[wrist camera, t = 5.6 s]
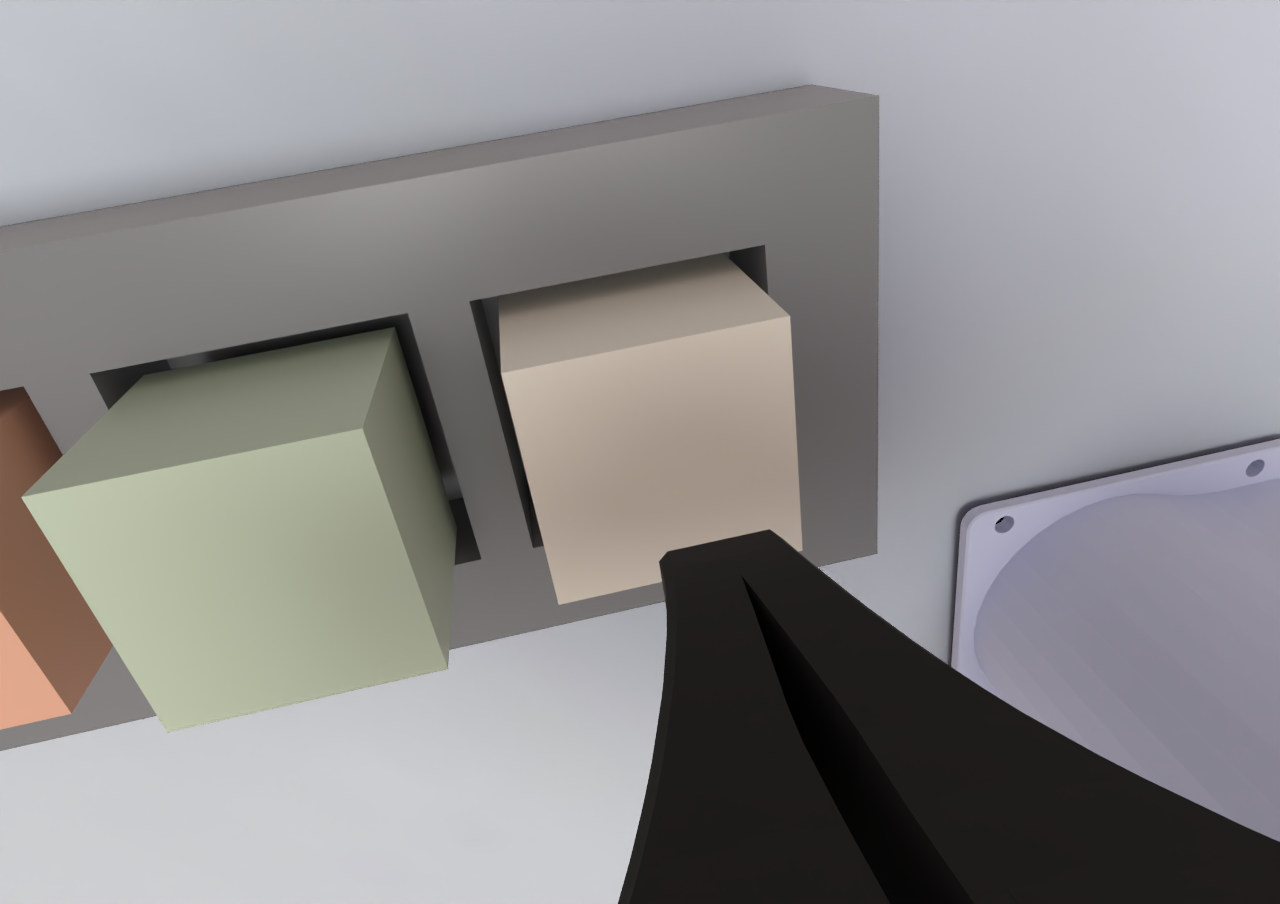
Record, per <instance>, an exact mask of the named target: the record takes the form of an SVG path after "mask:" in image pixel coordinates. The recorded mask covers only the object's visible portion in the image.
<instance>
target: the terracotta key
mask: <svg viewBox="0 0 1280 904" xmlns="http://www.w3.org/2000/svg"><path fill="white" fill-rule="evenodd" d="M62 456H63V454H62V453H61V451H60V449H59V447H58V446H57V444H56V442H55V440H54V439H53V437H52V435H51V433H50V432H49V430H48V428H47V426H46V425H45V423H44V421H43V419H42V418H41V416H40V414H39V412H38V411H37V409H36V407H35V406H34V404H33V402H32V400H31V399H30V397H29V395H28V393H27V392H26V390H25V388H24V386H22V387H17V388H12V389H7V390H1V391H0V730H1V729H5V728H10V727H14V726H19V725H23V724H28V723H32V722H37V721H41V720H46V719H50V718H55V717H59V716H64V715H68V714H72V712H73V711H74V709H75V707H76V706H77V704H78V702H79V701H80V699H81V698H82V696H83V694H84V693H85V691H86V689H87V688H88V686H89V684H90V683H91V681H92V680H93V678H94V676H95V675H96V673H97V671H98V670H99V668H100V667H101V665H102V663H103V662H104V660H105V658H106V657H107V655H108V653H109V652H110V650H111V649H112V647H113V644H112V643H111V641H110V639H109V638H108V636H107V634H106V633H105V631H104V630H103V628H102V626H101V625H100V623H99V622H98V620H97V618H96V617H95V615H94V614H93V612H92V610H91V609H90V607H89V606H88V604H87V602H86V601H85V599H84V598H83V596H82V594H81V593H80V591H79V590H78V588H77V586H76V585H75V583H74V582H73V580H72V578H71V577H70V575H69V573H68V572H67V570H66V569H65V567H64V565H63V564H62V562H61V561H60V559H59V557H58V556H57V554H56V553H55V551H54V549H53V548H52V546H51V545H50V543H49V541H48V540H47V538H46V537H45V535H44V533H43V532H42V530H41V529H40V527H39V525H38V524H37V522H36V520H35V519H34V517H33V516H32V514H31V512H30V511H29V509H28V508H27V506H26V504H25V503H24V501H23V500H22V498H21V497H22V496H23V495H24V494H25V493H26V492H27V491H28V490H29V489H30V488H31V487H32V486H33V485H34V484H35V483H36V482H37V481H38V480H39V479H40V478H41V477H42V476H43V475H44V474H45V473H46V472H47V471H48V470H49V469H50V468H51V467H52V466H53V465H54V464H55V463H56V462H57V461H58V460H59V459H60V458H61V457H62Z"/></svg>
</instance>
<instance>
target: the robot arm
mask: <svg viewBox="0 0 1280 904" xmlns="http://www.w3.org/2000/svg"><path fill="white" fill-rule="evenodd" d="M1004 516H1005V517H1004ZM1002 517H1004V519H1003V520H1002V521H1001V522H1000V523H998V524H996V522H997V521H998V520H999V519H1000V518H1002ZM659 566H660V572H661V578H662V584H663V590H664V596H665V602H666V608H667V640H666V654H665V668H664V682H663V692H662V700H661V706H660V713H659V719H658V726H657V733H656V739H655V746H654V752H653V759H652V764H651V769H650V774H649V779H648V784H647V790H646V794H645V799H644V804H643V808H642V813H641V817H640V821H639V825H638V830H637V834H636V838H635V842H634V846H633V851H632V855H631V858H630V862H629V866H628V870H627V873H626V877H625V880H624V884H623V887H622V891H621V895H620V898H619V902H618V904H1280V439H1276V440H1272V441H1267V442H1263V443H1258V444H1254V445H1249V446H1245V447H1240V448H1236V449H1231V450H1227V451H1222V452H1218V453H1213V454H1209V455H1204V456H1200V457H1195V458H1191V459H1186V460H1182V461H1177V462H1173V463H1168V464H1164V465H1159V466H1155V467H1150V468H1146V469H1141V470H1137V471H1132V472H1128V473H1123V474H1119V475H1115V476H1110V477H1106V478H1101V479H1097V480H1092V481H1088V482H1083V483H1079V484H1074V485H1070V486H1065V487H1061V488H1056V489H1052V490H1047V491H1043V492H1038V493H1034V494H1029V495H1025V496H1020V497H1016V498H1011V499H1007V500H1002V501H998V502H993V503H989V504H984V505H980V506H977V507H975V508H973V509H971V510H970V511H969V512H967V513H966V515H965V516H964V518H963V519H962V522H961V526H960V541H959V556H958V572H957V587H956V602H955V617H954V632H953V647H952V663H951V666H949V665H948V664H946V663H944V662H943V661H941V660H940V659H939V658H937V657H936V656H934V655H933V654H931V653H930V652H928V651H927V650H926V649H924V648H923V647H921V646H920V645H918V644H917V643H916V642H914V641H913V640H911V639H910V638H909V637H907V636H906V635H905V634H903V633H902V632H900V631H899V630H898V629H896V628H895V627H894V626H892V625H891V624H890V623H888V622H887V621H885V620H884V619H883V618H881V617H880V616H879V615H877V614H876V613H875V612H873V611H872V610H870V609H869V608H868V607H866V606H865V605H864V604H863V603H861V602H860V601H859V600H857V599H856V598H855V597H854V596H852V595H851V594H850V593H848V592H847V591H846V590H845V589H843V588H842V587H841V586H840V585H838V584H837V583H836V582H835V581H833V580H832V579H831V578H830V577H828V576H827V575H826V574H825V573H823V572H822V571H821V570H820V569H818V568H817V567H816V566H815V565H814V564H812V563H811V562H810V561H809V560H808V559H806V558H805V557H804V556H803V555H802V554H800V553H799V552H798V551H797V550H796V549H794V548H793V547H792V546H791V545H790V544H788V543H787V542H786V541H785V540H784V539H783V538H781V537H780V536H779V535H777V534H776V533H774V532H773V531H772V530H770V529H768V530H763V531H759V532H754V533H750V534H745V535H740V536H736V537H731V538H727V539H722V540H718V541H713V542H708V543H704V544H699V545H695V546H690V547H685V548H681V549H676V550H672V551H667V552H666V554H665V555H664V556H663V557H662V558H661V560H660V561H659Z"/></svg>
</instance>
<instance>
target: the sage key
mask: <svg viewBox="0 0 1280 904" xmlns="http://www.w3.org/2000/svg"><path fill="white" fill-rule="evenodd" d="M21 498H22V500H23V501H24V503H25V504H26V506H27V508H28V509H29V511H30V512H31V514H32V516H33V517H34V519H35V520H36V522H37V524H38V525H39V527H40V529H41V530H42V532H43V533H44V535H45V537H46V538H47V540H48V541H49V543H50V545H51V546H52V548H53V549H54V551H55V553H56V554H57V556H58V557H59V559H60V561H61V562H62V564H63V565H64V567H65V569H66V570H67V572H68V573H69V575H70V577H71V578H72V580H73V582H74V583H75V585H76V586H77V588H78V590H79V591H80V593H81V594H82V596H83V598H84V599H85V601H86V602H87V604H88V606H89V607H90V609H91V610H92V612H93V614H94V615H95V617H96V618H97V620H98V622H99V623H100V625H101V626H102V628H103V630H104V631H105V633H106V634H107V636H108V638H109V639H110V641H111V643H112V644H113V646H114V647H115V649H116V651H117V652H118V654H119V655H120V657H121V659H122V660H123V662H124V663H125V665H126V667H127V668H128V670H129V671H130V673H131V675H132V676H133V678H134V679H135V681H136V683H137V684H138V686H139V687H140V689H141V691H142V692H143V694H144V696H145V697H146V699H147V700H148V702H149V704H150V705H151V707H152V708H153V710H154V712H155V713H156V715H157V716H158V718H159V720H160V721H161V723H162V724H163V726H164V728H165V729H166V731H167V732H172V731H177V730H181V729H186V728H190V727H194V726H199V725H203V724H208V723H212V722H216V721H221V720H225V719H230V718H234V717H238V716H243V715H247V714H252V713H256V712H260V711H265V710H269V709H274V708H278V707H283V706H287V705H291V704H296V703H300V702H305V701H309V700H313V699H318V698H322V697H327V696H331V695H335V694H340V693H344V692H349V691H353V690H357V689H362V688H366V687H371V686H375V685H379V684H384V683H388V682H393V681H397V680H401V679H406V678H410V677H415V676H419V675H424V674H428V673H432V672H437V671H441V670H446V669H448V658H449V643H450V627H451V612H452V596H453V580H454V565H455V549H456V534H457V526H456V522H455V519H454V516H453V513H452V510H451V506H450V503H449V500H448V497H447V493H446V490H445V487H444V484H443V481H442V477H441V474H440V471H439V468H438V464H437V461H436V458H435V455H434V452H433V448H432V445H431V442H430V439H429V435H428V432H427V429H426V426H425V423H424V419H423V416H422V413H421V410H420V406H419V403H418V400H417V397H416V394H415V390H414V387H413V384H412V381H411V378H410V374H409V371H408V368H407V365H406V361H405V358H404V355H403V352H402V349H401V345H400V342H399V339H398V336H397V332H396V329H395V327H392V328H386V329H381V330H376V331H371V332H366V333H360V334H355V335H350V336H345V337H340V338H334V339H329V340H324V341H319V342H314V343H308V344H303V345H298V346H293V347H287V348H282V349H277V350H272V351H267V352H261V353H256V354H251V355H246V356H241V357H235V358H230V359H225V360H220V361H215V362H209V363H204V364H199V365H194V366H189V367H183V368H178V369H173V370H168V371H162V372H157V373H152V374H147V375H143V376H142V377H141V378H140V379H139V380H138V381H137V382H136V383H135V384H134V385H133V386H132V387H131V388H130V389H129V390H128V391H127V392H126V393H125V394H124V395H123V396H122V397H121V398H120V399H119V400H118V401H117V402H116V403H115V404H114V405H113V406H112V407H111V408H110V409H109V410H108V411H107V412H106V413H105V414H104V415H103V416H102V417H101V418H100V419H99V420H98V421H97V422H96V423H95V424H94V425H93V426H92V427H91V428H90V429H89V430H88V431H87V432H86V433H85V434H84V435H83V436H82V437H81V438H80V439H79V440H78V441H77V442H76V443H75V444H74V445H73V446H72V447H71V448H70V449H69V450H68V451H67V452H66V453H65V454H64V455H63V456H62V457H61V458H60V459H59V460H58V461H57V462H56V463H55V464H54V465H53V466H52V467H51V468H50V469H49V470H48V471H47V472H46V473H45V474H44V475H43V476H42V477H41V478H40V479H39V480H38V481H37V482H36V483H35V484H34V485H33V486H32V487H31V488H30V489H29V490H28V491H27V492H26V493H25V494H24V495H23V496H22V497H21Z"/></svg>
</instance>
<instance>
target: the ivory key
mask: <svg viewBox="0 0 1280 904" xmlns="http://www.w3.org/2000/svg"><path fill="white" fill-rule="evenodd" d="M498 304H499V332H500V359H501V375H502V379H503V383H504V387H505V391H506V395H507V399H508V403H509V407H510V411H511V415H512V419H513V424H514V428H515V432H516V436H517V440H518V444H519V448H520V452H521V456H522V460H523V464H524V468H525V472H526V476H527V480H528V484H529V488H530V492H531V496H532V500H533V504H534V508H535V512H536V516H537V520H538V524H539V528H540V532H541V536H542V540H543V544H544V548H545V552H546V556H547V560H548V564H549V568H550V572H551V576H552V580H553V584H554V588H555V592H556V596H557V600H558V604H559V605H561V604H565V603H570V602H574V601H579V600H583V599H588V598H592V597H597V596H601V595H606V594H610V593H615V592H619V591H623V590H628V589H632V588H637V587H641V586H646V585H650V584H655V583H659V582H662V578H661V572H660V566H659V561H660V560H661V558H662V557H663V556H664V555H665V554H666V552H667V551H672V550H676V549H681V548H685V547H690V546H695V545H699V544H704V543H708V542H713V541H718V540H722V539H727V538H731V537H736V536H740V535H745V534H750V533H754V532H759V531H763V530H768V529H770V530H772V531H773V532H774V533H776V534H777V535H779V536H780V537H781V538H783V539H784V540H785V541H786V542H787V543H788V544H790V545H791V546H792V547H793V548H794V549H796V550H797V551H803V549H802V530H801V511H800V492H799V473H798V455H797V436H796V417H795V398H794V379H793V360H792V341H791V323H790V315H789V314H788V313H787V312H785V311H784V310H783V309H782V308H781V307H780V306H779V305H778V304H777V303H776V302H775V301H774V300H773V299H772V298H771V297H770V296H768V295H767V294H766V293H765V292H764V291H763V290H762V289H761V288H760V287H759V286H758V285H757V284H756V283H755V282H754V281H753V280H751V279H750V278H749V277H748V276H747V275H746V274H745V273H744V272H743V271H742V270H741V269H740V268H739V267H738V266H737V265H735V264H734V263H733V262H732V261H731V260H730V259H729V258H728V257H727V256H726V255H725V254H724V253H719V254H714V255H709V256H703V257H698V258H693V259H688V260H682V261H677V262H672V263H667V264H662V265H656V266H651V267H646V268H641V269H635V270H630V271H625V272H620V273H614V274H609V275H604V276H599V277H593V278H588V279H583V280H578V281H572V282H567V283H562V284H557V285H551V286H546V287H541V288H536V289H531V290H525V291H520V292H515V293H510V294H504V295H499V296H498Z"/></svg>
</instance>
